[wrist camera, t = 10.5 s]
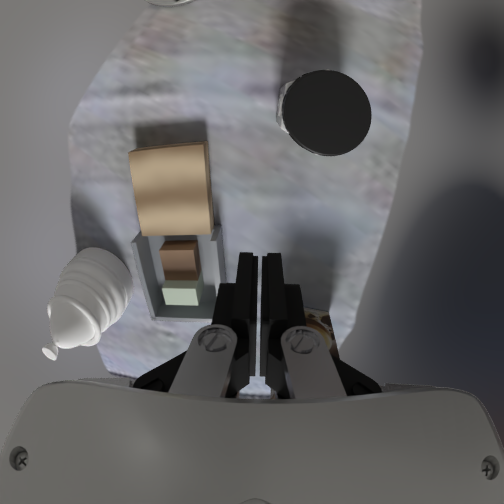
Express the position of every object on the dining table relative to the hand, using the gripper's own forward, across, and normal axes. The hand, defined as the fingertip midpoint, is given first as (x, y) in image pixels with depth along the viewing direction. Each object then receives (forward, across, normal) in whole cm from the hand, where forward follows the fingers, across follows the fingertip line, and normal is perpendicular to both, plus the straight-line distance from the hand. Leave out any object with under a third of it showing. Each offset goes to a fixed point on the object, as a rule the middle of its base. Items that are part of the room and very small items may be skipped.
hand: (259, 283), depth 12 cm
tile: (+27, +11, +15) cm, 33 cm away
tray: (+28, +11, +17) cm, 35 cm away
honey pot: (+28, +28, +21) cm, 45 cm away
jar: (+28, -6, -6) cm, 30 cm away
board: (+28, +12, +4) cm, 31 cm away
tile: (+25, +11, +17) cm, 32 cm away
